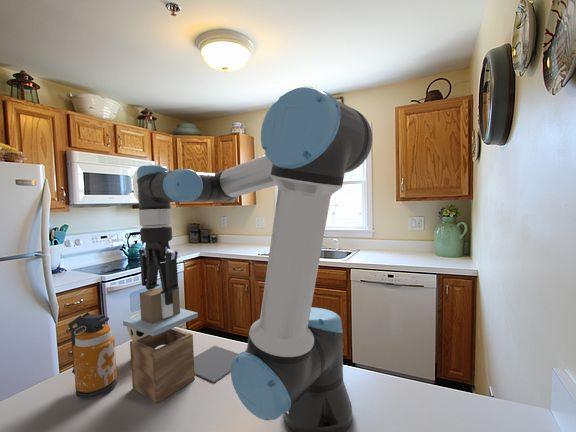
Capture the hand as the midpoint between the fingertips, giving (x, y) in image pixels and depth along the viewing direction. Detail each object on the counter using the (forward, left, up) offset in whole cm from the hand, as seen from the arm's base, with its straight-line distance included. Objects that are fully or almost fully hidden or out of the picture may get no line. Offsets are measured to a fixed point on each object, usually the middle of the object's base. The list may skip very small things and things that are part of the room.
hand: (161, 314), depth 77 cm
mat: (-4, -14, -19) cm, 24 cm away
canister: (+14, +11, -19) cm, 26 cm away
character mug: (+18, -5, -19) cm, 27 cm away
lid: (0, 0, -3) cm, 3 cm away
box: (0, 0, -19) cm, 19 cm away
